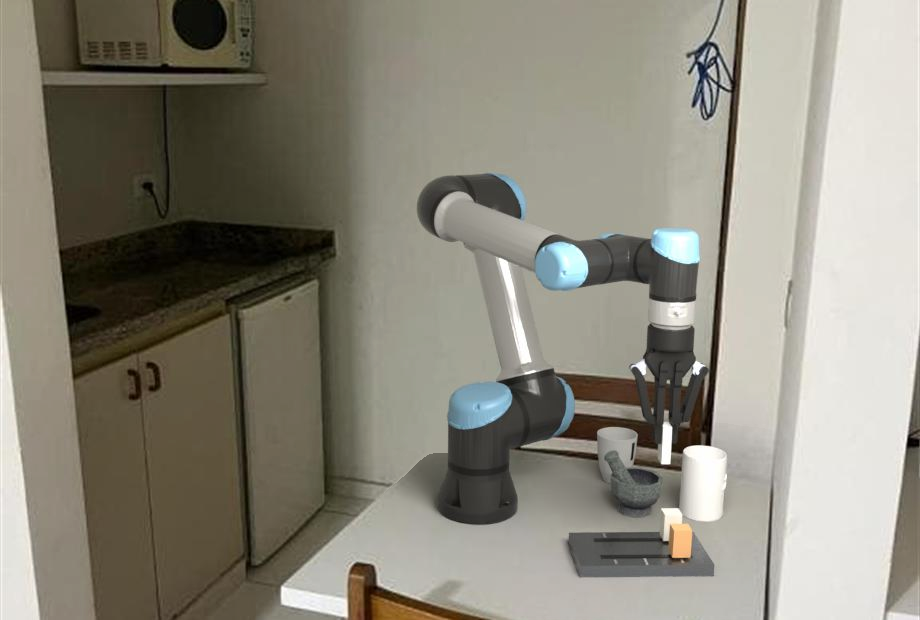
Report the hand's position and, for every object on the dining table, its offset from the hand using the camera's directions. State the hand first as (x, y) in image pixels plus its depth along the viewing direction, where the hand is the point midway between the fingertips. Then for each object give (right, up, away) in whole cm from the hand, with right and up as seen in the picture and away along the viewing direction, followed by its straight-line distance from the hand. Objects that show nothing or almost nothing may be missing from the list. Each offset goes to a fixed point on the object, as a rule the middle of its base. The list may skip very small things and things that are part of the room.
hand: (663, 461), depth 155 cm
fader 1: (+2, -14, +4) cm, 14 cm away
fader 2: (+2, -15, -2) cm, 15 cm away
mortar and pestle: (-2, -13, +20) cm, 24 cm away
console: (-4, -17, +1) cm, 17 cm away
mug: (+11, -13, +21) cm, 27 cm away
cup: (-2, -10, +35) cm, 36 cm away
